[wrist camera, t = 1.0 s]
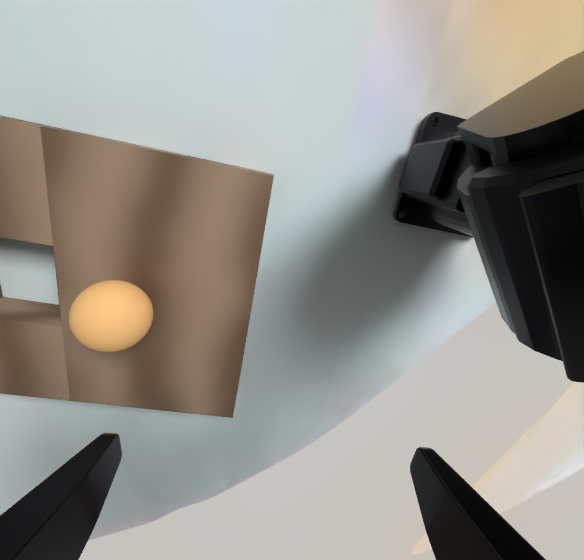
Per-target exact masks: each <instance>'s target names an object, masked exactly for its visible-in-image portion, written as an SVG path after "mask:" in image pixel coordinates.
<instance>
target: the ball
mask: <svg viewBox="0 0 584 560" xmlns="http://www.w3.org/2000/svg"><path fill="white" fill-rule="evenodd" d="M152 321H153V307H152V303H151V301H150V299H149V297H148V296H147V294H146V293H145V292H144V291H143V290H142V289H140V288H139V287H137V286H136V285H134V284H132V283H129V282H125V281H120V280H108V281H102V282H99V283H96V284H93V285H91V286H89V287H88V288H86V289H85V290H84V291H82V292H81V293H80V294H79V295H78V296H77V298H76V299H75V300H74V302H73V304H72V306H71V309H70V312H69V325H70V328H71V331H72V333H73V335H74V336H75V337H76V339H77V340H78V341H79V342H80V343H82V344H83V345H85V346H86V347H88V348H90V349H93V350H96V351H101V352H115V351H120V350H124V349H127V348H129V347H131V346H133V345H135V344H136V343H138V342H139V341H140V340H141V339H142V338H143V337H144V336H145V335H146V334H147V332H148V331H149V329H150V327H151V324H152Z"/></svg>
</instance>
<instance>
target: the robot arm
mask: <svg viewBox="0 0 584 560" xmlns="http://www.w3.org/2000/svg"><path fill="white" fill-rule="evenodd" d="M432 118H434V119H435V121H436V122H435V125H434V126H431V119H432ZM399 190H400V194H399V197H398V200H397V203H396V206H395V209H394V212H393V217H394V219H395V220H397V221H399V222H402V223H407V224H411V225H416V226H421V227H426V228H431V229H436V230H441V231H446V232H450V233H455V234H460V235H465V236H470V237H474V239H475V242H476V245H477V248H478V251H479V254H480V256H481V259H482V262H483V265H484V268H485V271H486V274H487V277H488V279H489V282H490V285H491V288H492V291H493V294H494V297H495V299H496V302H497V305H498V308H499V311H500V314H501V317H502V318H503V320H504V321H505V322H506V324H507V325H508V326H509V328H510V329H511V331H512V332H514V333H515V334H516V337H517V339H518V340H519V341H520V342H521V343H523V344H525V345H526V346H528V347H529V348H531V349H533V350H534V351H537V352H540V353H542V354H545V355H547V356H550V357H553V358H555V359H558V360H561V361H563V363H564V367H565V371H566V374H567V377H568V379H570V380H571V381H575V382H584V51H583V52H581V53H578V54H576V55H574V56H572V57H569V58H567V59H565V60H564V61H562V62H560V63H559V64H557V65H555V66H554V67H552V68H550V69H549V70H547V71H546V72H544V73H542V74H541V75H539V76H537V77H536V78H534V79H532V80H531V81H529V82H528V83H526V84H524V85H523V86H521V87H519V88H518V89H516V90H514V91H513V92H511V93H510V94H508V95H506V96H505V97H503V98H501V99H500V100H498V101H496V102H495V103H493V104H492V105H490V106H488V107H487V108H485V109H483V110H482V111H480V112H478V113H477V114H475V115H474V116H472V117H470V118H469V119H467V120H466V119H462V118H459V117H455V116H451V115H447V114H443V113H439V112H434V113H431V114H428V115H427V116H426V117H425V119H424V121H423V124H422V127H421V130H420V133H419V136H418V139H417V142H416V144H415V145H414V146H412V147H411V150H410V153H409V156H408V159H407V162H406V165H405V169H404V172H403V175H402V178H401V181H400V184H399ZM401 211H404V215H403V217H401V218H400V217H399V214H400V212H401ZM121 457H122V450H121V444H120V438H119V435H118V434H114V433H104V434H101V435H100V436H98V437H97V438H96V439H95V440H93V441H92V442H91V443H90V444H89V445H87V446H86V447H85V448H84V449H82V450H81V451H80V452H79V453H77V454H76V455H75V456H74V457H72V458H71V459H70V460H69V461H67V462H66V463H65V464H64V465H63V466H61V467H60V468H59V469H58V470H56V471H55V472H54V473H53V474H51V475H50V476H49V477H48V478H46V479H45V480H44V481H43V482H41V483H40V484H39V485H38V486H37V487H35V488H34V489H33V490H32V491H30V492H29V493H28V494H27V495H25V496H24V497H23V498H22V499H20V500H19V501H18V502H17V503H15V504H14V505H13V506H12V507H10V508H9V509H8V510H7V511H6V512H4V513H3V514H2V515H1V516H0V560H78V559H79V557H80V555H81V553H82V551H83V549H84V547H85V545H86V543H87V541H88V539H89V537H90V535H91V533H92V531H93V529H94V526H95V524H96V522H97V519H98V517H99V515H100V512H101V510H102V507H103V504H104V502H105V499H106V497H107V494H108V492H109V489H110V487H111V484H112V482H113V479H114V476H115V474H116V471H117V469H118V466H119V464H120V461H121ZM410 472H411V476H412V479H413V484H414V487H415V491H416V495H417V499H418V503H419V506H420V510H421V514H422V518H423V521H424V525H425V529H426V532H427V535H428V538H429V541H430V544H431V547H432V549H433V552H434V555H435V558H436V560H546V559H545V558H544V557H543V556H541V555H540V554H539V553H538V552H537V551H536V550H535V549H534V548H533V547H532V546H531V545H530V544H529V543H528V542H527V541H526V540H525V539H524V538H523V537H522V536H521V535H520V534H519V533H518V532H517V531H516V530H515V529H514V528H513V527H512V526H511V525H510V524H509V523H508V522H507V521H506V520H505V519H503V517H502V516H501V515H500V514H499V513H498V512H496V511H495V510H494V509H493V508H492V507H491V506H490V505H489V504H488V503H487V502H486V501H485V500H484V499H483V498H482V497H481V496H480V495H479V494H478V493H477V492H476V491H475V490H474V489H473V488H472V487H471V486H470V485H469V484H468V483H467V482H466V481H465V480H464V479H463V478H462V477H461V476H460V475H459V474H458V473H457V472H455V470H453V469H452V468H451V467H450V466H449V465H448V464H447V463H446V462H445V461H444V460H443V459H442V458H441V457H440V456H439V455H438V454H437V453H436V452H435V451H434V450H433V449H431V448H425V447H419V448H417V450H416V452H415V454H414V457H413V459H412V462H411V465H410Z"/></svg>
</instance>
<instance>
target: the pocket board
mask: <svg viewBox="0 0 584 560" xmlns="http://www.w3.org/2000/svg"><path fill="white" fill-rule="evenodd" d="M273 176H274V174H270V173H265V172H260V171H256V170H251V169H246V168H242V167H237V166H232V165H228V164H223V163H219V162H214V161H209V160H205V159H200V158H195V157H191V156H186V155H181V154H177V153H172V152H167V151H163V150H158V149H153V148H149V147H144V146H139V145H135V144H130V143H125V142H121V141H116V140H111V139H107V138H102V137H97V136H93V135H88V134H83V133H79V132H74V131H69V130H65V129H60V128H55V127H51V126H46V125H42V124H37V123H32V122H28V121H23V120H18V119H14V118H9V117H4V116H0V237H2V238H8V239H14V240H20V241H26V242H32V243H38V244H44V245H50V246H53V249H54V258H55V268H56V277H57V286H58V295H59V305H54V304H47V303H40V302H33V301H26V300H19V299H12V298H5V297H2V292H1V287H0V393H2V394H11V395H21V396H30V397H40V398H49V399H59V400H68V401H78V402H87V403H97V404H107V405H116V406H126V407H135V408H145V409H154V410H164V411H173V412H183V413H192V414H202V415H211V416H221V417H230V418H233V413H234V407H235V401H236V395H237V389H238V383H239V377H240V371H241V365H242V360H243V354H244V348H245V342H246V336H247V330H248V324H249V318H250V312H251V306H252V300H253V294H254V289H255V283H256V277H257V271H258V265H259V259H260V253H261V247H262V241H263V235H264V229H265V223H266V217H267V212H268V206H269V200H270V194H271V188H272V182H273ZM108 280H120V281H125V282H129V283H132V284H134V285H136V286H137V287H139V288H140V289H142V290H143V291H144V292H145V293H146V294H147V296H148V297H149V299H150V301H151V303H152V307H153V321H152V324H151V327H150V329H149V331H148V332H147V334H146V335H145V336H144V337H143V338H142V339H141V340H140V341H139V342H138V343H136V344H135V345H133V346H131V347H129V348H127V349H124V350H120V351H115V352H101V351H96V350H93V349H90V348H88V347H86V346H85V345H83V344H82V343H80V342H79V341H78V340H77V339H76V337H75V336H74V335H73V333H72V331H71V328H70V325H69V312H70V309H71V306H72V304H73V302H74V300H75V299H76V298H77V296H78V295H79V294H80V293H81V292H82V291H84V290H85V289H86V288H88V287H89V286H91V285H93V284H96V283H99V282H102V281H108Z"/></svg>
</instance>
